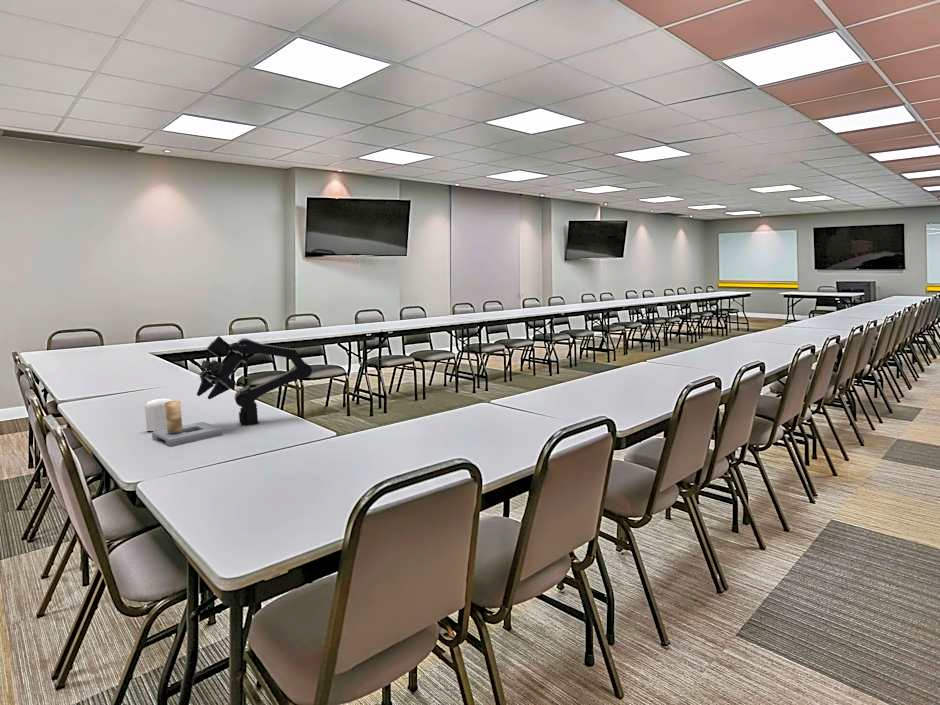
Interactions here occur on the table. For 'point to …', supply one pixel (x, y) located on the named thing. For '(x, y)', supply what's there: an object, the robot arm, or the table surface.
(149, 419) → the photo printer
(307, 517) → the table surface
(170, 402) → the ribbed peg
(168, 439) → the keyhole plate
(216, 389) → the robot arm
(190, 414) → the table surface
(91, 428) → the table surface
